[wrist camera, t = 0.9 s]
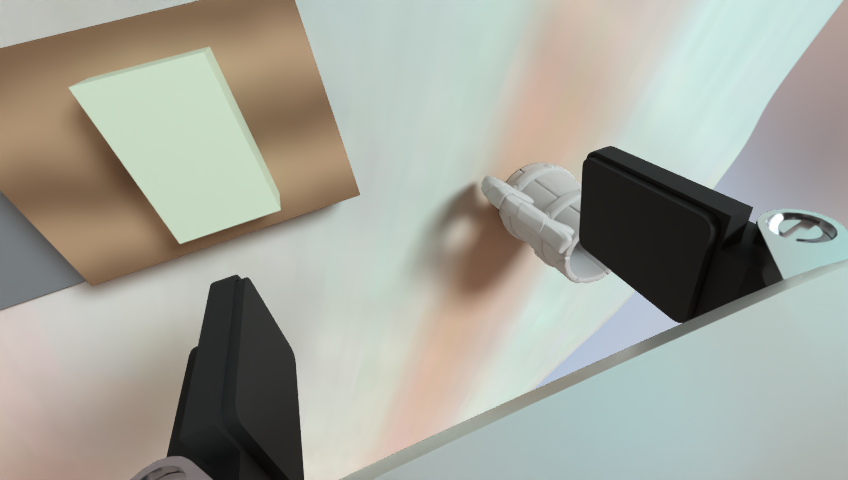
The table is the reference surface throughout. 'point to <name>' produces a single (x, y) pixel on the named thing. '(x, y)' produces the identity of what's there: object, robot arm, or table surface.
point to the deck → (104, 172)
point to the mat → (28, 260)
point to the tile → (182, 142)
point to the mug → (546, 217)
